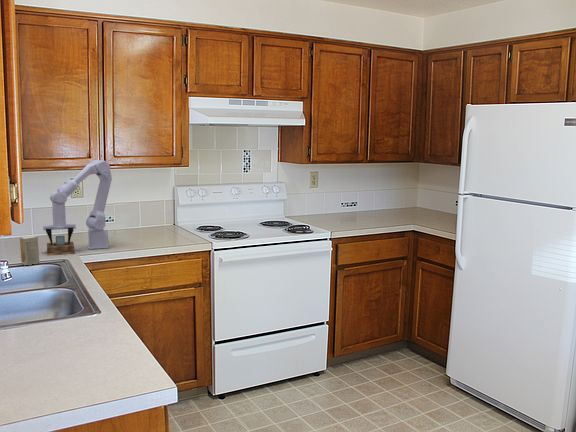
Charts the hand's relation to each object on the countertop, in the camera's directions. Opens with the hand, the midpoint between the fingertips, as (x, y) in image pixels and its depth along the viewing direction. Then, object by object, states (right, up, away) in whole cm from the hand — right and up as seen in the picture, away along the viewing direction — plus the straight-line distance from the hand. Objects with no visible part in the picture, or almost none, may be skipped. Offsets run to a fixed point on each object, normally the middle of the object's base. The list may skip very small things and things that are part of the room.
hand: (60, 244), depth 276 cm
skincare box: (-3, -8, -25) cm, 27 cm away
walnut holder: (0, -4, +1) cm, 4 cm away
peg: (0, -3, 0) cm, 3 cm away
